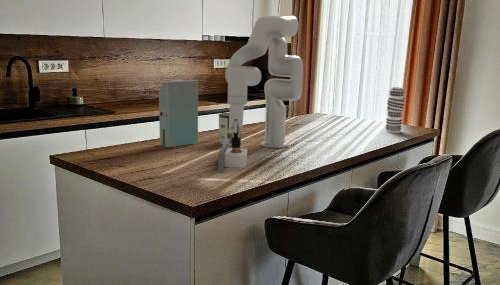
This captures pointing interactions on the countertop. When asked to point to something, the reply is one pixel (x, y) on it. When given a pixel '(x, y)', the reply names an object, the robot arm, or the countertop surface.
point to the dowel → (237, 150)
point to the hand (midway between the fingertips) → (236, 146)
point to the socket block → (235, 158)
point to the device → (178, 113)
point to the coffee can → (224, 128)
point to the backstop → (223, 155)
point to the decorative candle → (395, 110)
